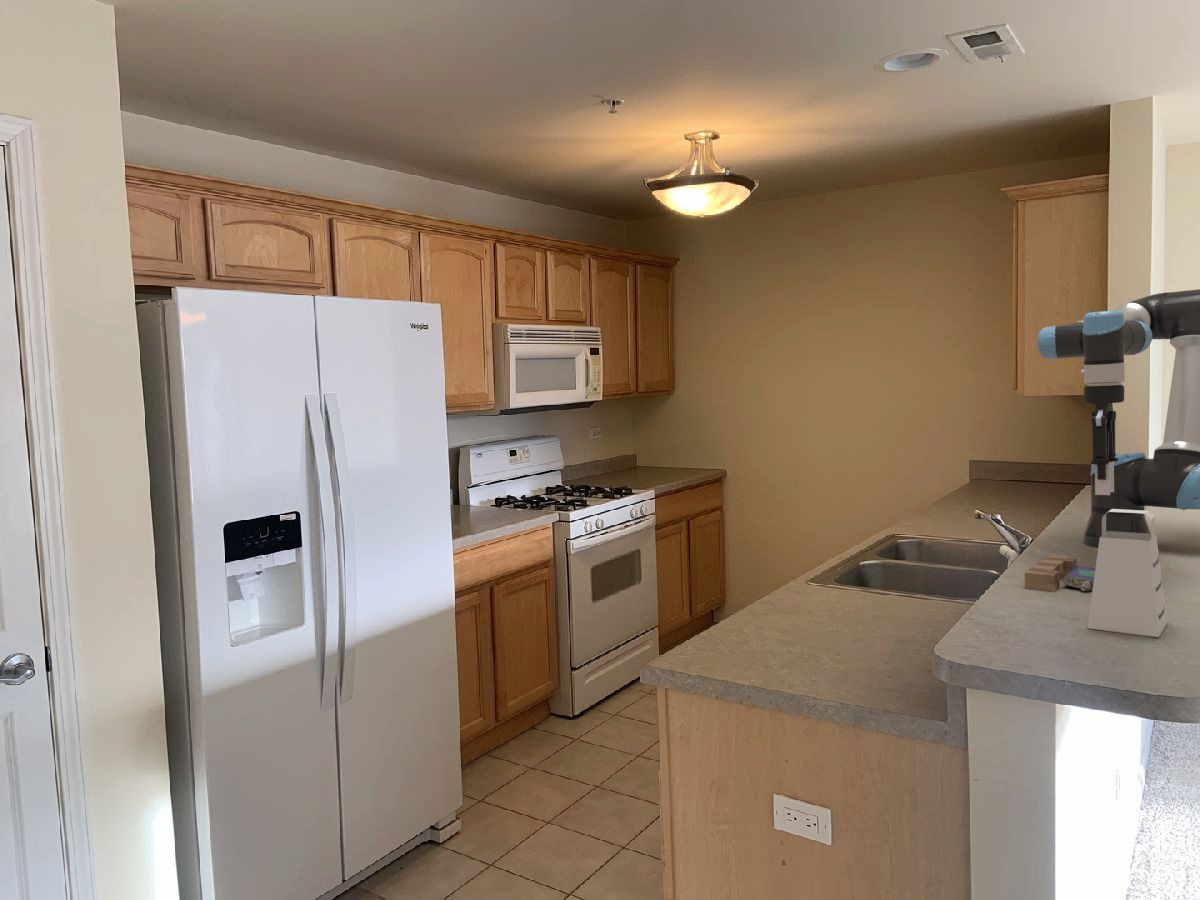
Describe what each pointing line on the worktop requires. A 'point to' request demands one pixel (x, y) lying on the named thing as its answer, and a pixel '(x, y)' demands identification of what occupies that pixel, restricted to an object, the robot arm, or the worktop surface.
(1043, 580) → the holder
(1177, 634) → the worktop surface
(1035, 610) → the worktop surface
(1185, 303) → the robot arm
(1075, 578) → the flask
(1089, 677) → the worktop surface
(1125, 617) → the grater
